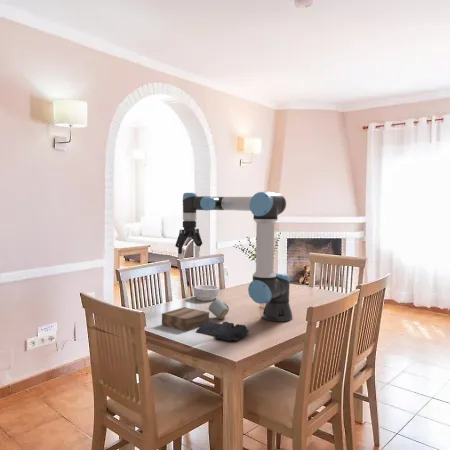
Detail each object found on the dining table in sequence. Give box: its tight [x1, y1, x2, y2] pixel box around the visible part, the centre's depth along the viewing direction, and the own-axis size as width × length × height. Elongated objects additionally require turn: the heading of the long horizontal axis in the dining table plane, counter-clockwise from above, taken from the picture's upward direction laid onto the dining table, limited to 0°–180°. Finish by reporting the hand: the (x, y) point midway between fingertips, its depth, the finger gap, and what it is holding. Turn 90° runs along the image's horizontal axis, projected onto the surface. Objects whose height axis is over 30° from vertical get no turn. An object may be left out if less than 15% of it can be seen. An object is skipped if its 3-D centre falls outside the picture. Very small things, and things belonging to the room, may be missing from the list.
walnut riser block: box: [161, 307, 210, 332], centre depth 202 cm, size 16×16×6 cm
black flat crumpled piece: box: [195, 321, 249, 342], centre depth 191 cm, size 15×22×5 cm
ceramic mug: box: [208, 298, 230, 320], centre depth 214 cm, size 11×8×8 cm
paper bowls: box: [193, 284, 220, 302], centre depth 255 cm, size 15×15×8 cm
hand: (189, 258), depth 235 cm, fingers open, 13 cm apart
